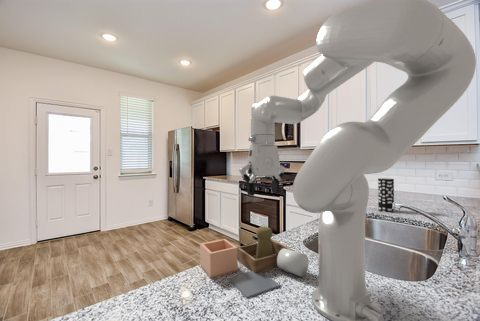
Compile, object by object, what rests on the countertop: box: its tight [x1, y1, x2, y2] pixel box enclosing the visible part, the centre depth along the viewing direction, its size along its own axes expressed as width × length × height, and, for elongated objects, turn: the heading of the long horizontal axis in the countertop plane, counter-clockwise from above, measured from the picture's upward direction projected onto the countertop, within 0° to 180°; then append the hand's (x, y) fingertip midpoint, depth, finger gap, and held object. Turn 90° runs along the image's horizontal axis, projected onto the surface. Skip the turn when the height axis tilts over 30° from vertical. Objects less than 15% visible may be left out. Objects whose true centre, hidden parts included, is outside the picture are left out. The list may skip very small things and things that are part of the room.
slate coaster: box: [228, 270, 281, 299], centre depth 60 cm, size 10×10×1 cm
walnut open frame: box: [236, 239, 295, 273], centre depth 73 cm, size 12×15×4 cm
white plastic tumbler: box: [277, 248, 309, 278], centre depth 66 cm, size 7×6×6 cm
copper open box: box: [199, 238, 239, 280], centre depth 68 cm, size 9×9×7 cm
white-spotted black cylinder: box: [377, 177, 395, 213], centre depth 141 cm, size 8×8×20 cm
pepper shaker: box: [255, 226, 274, 259], centre depth 73 cm, size 6×6×11 cm
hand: (263, 193), depth 73 cm, fingers open, 9 cm apart
